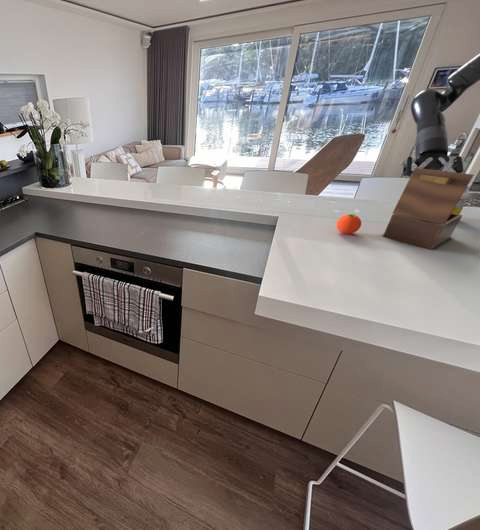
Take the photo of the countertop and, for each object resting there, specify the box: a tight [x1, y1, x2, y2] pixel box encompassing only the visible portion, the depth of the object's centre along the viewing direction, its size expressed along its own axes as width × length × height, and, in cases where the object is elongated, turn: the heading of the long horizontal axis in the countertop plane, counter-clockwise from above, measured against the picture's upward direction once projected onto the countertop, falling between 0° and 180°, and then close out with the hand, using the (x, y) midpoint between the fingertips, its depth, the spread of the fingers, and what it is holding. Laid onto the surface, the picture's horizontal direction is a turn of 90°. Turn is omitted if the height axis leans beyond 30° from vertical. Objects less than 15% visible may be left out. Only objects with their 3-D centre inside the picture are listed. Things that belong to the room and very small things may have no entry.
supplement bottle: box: [452, 183, 471, 215], centre depth 103 cm, size 7×7×13 cm
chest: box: [383, 213, 463, 250], centre depth 95 cm, size 14×13×8 cm
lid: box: [392, 167, 475, 225], centre depth 86 cm, size 14×13×5 cm
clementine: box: [336, 213, 362, 235], centre depth 102 cm, size 8×7×7 cm
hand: (432, 186), depth 94 cm, fingers open, 8 cm apart
